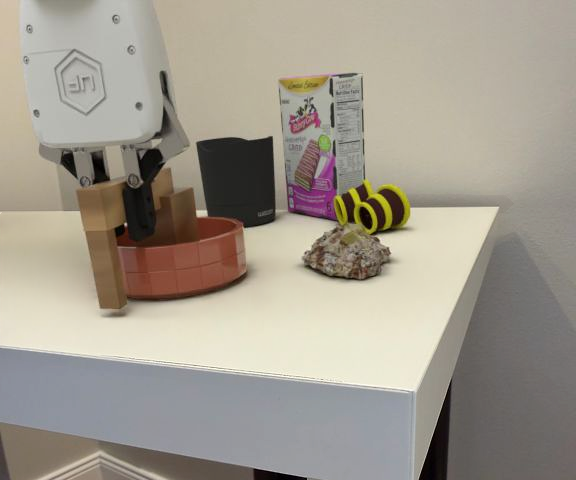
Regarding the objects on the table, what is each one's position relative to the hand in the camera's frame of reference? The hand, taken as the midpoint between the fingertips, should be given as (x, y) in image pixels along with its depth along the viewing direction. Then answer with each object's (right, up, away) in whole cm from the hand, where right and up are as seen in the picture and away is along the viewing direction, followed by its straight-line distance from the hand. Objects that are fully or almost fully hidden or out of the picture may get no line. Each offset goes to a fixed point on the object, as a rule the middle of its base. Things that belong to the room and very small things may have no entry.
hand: (127, 236), depth 53 cm
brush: (+1, -3, +4) cm, 5 cm away
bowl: (+3, -2, +7) cm, 8 cm away
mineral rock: (+18, -1, +8) cm, 20 cm away
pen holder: (+7, +9, +32) cm, 34 cm away
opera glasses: (+22, +6, +23) cm, 32 cm away
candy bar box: (+18, +10, +32) cm, 38 cm away
